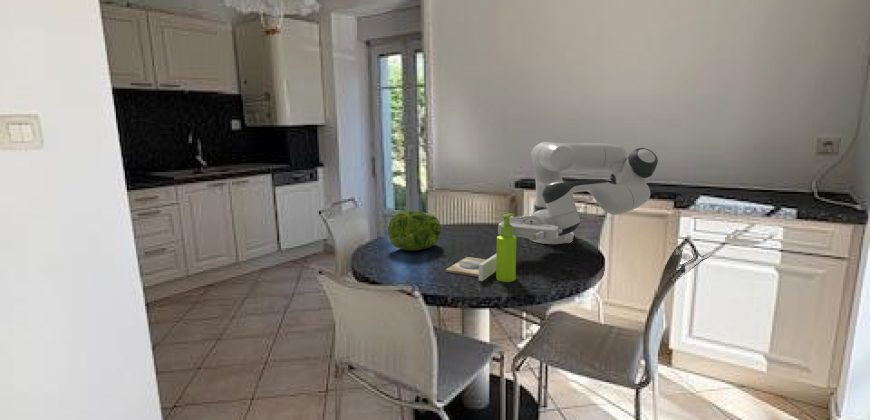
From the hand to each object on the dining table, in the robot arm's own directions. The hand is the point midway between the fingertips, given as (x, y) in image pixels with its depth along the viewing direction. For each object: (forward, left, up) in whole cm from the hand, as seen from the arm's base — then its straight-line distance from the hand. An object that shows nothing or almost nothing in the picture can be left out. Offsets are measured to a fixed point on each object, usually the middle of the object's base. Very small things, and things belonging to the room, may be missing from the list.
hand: (520, 235), depth 153 cm
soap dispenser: (+12, 0, -11) cm, 16 cm away
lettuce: (-5, -42, -11) cm, 44 cm away
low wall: (+8, -6, -11) cm, 15 cm away
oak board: (+7, -14, -11) cm, 19 cm away
